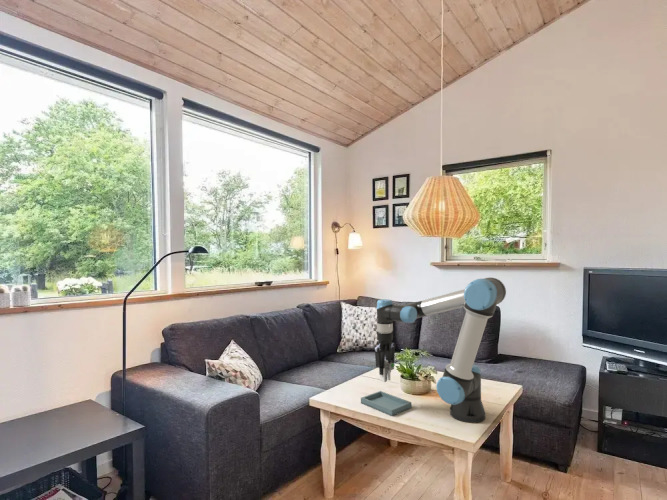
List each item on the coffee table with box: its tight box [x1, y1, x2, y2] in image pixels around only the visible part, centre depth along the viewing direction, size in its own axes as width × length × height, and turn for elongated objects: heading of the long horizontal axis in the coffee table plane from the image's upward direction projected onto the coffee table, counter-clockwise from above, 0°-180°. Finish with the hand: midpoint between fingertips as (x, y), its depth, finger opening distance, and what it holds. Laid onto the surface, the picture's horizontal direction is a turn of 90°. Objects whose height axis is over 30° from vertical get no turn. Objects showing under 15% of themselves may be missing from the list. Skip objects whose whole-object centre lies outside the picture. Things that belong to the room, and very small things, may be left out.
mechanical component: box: [377, 359, 395, 383], centre depth 185 cm, size 3×10×10 cm, turn 42°
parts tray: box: [360, 390, 413, 417], centre depth 185 cm, size 20×14×3 cm
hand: (385, 380), depth 185 cm, fingers closed on mechanical component, 3 cm apart
